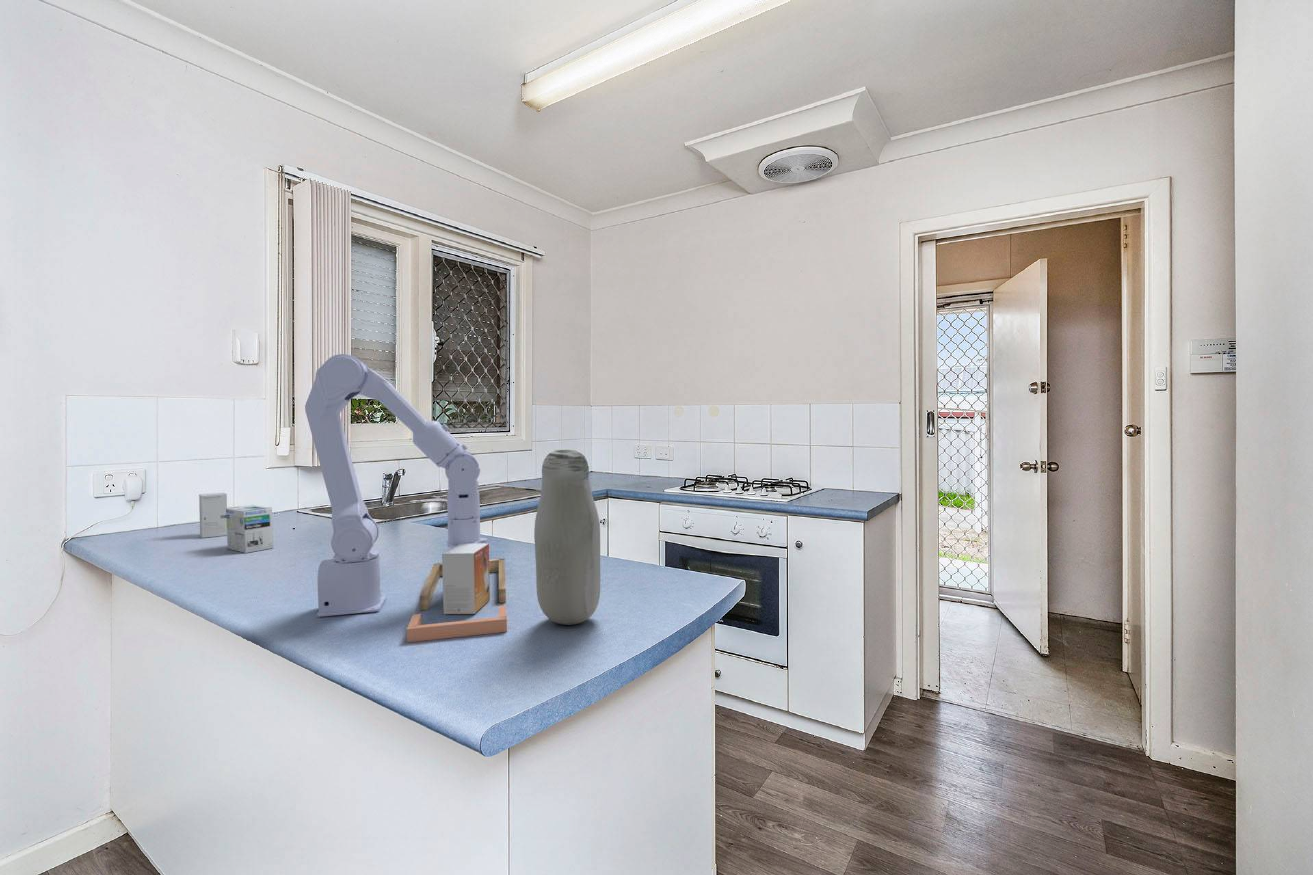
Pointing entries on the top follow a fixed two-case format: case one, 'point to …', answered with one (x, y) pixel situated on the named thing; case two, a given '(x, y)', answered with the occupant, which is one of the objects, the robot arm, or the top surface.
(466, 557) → the small box
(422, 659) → the top surface
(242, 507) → the light bulb box
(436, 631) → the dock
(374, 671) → the top surface
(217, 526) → the skincare box
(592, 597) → the grey bottle
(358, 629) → the top surface
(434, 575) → the u-shaped frame
